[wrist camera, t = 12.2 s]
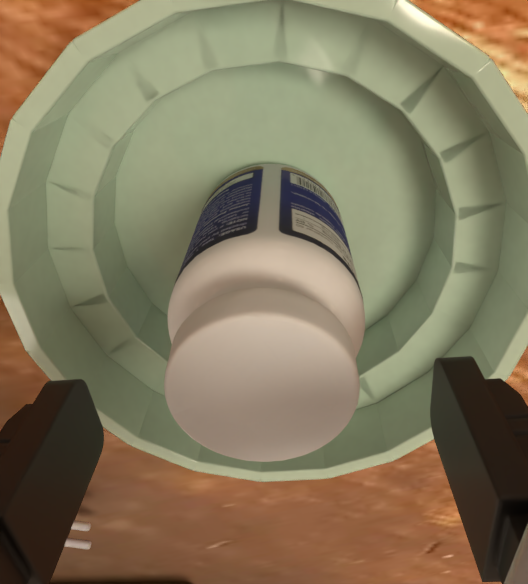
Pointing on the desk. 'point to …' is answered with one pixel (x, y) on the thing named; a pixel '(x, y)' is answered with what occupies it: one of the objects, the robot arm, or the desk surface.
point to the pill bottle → (265, 319)
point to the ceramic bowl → (268, 150)
